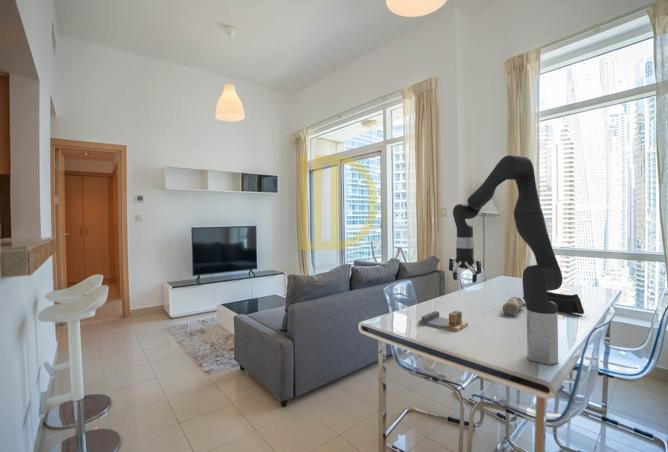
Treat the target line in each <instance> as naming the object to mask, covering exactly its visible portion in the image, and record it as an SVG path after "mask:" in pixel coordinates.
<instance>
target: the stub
mask: <svg viewBox="0 0 668 452" xmlns="http://www.w3.org/2000/svg"><path fill="white" fill-rule="evenodd" d="M462 313H463V312H462V311H459V310H454V311H452V312H450V313H448V319H449V323H447V324H446V325H444V326H443V330H447V331H453V332H456V333H457V332H460V331H461V330H462V329H464V328H466V327H467V326H469V323H468V321H467V322H466V321H463V319H462V318H463V315H462Z"/></svg>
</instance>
